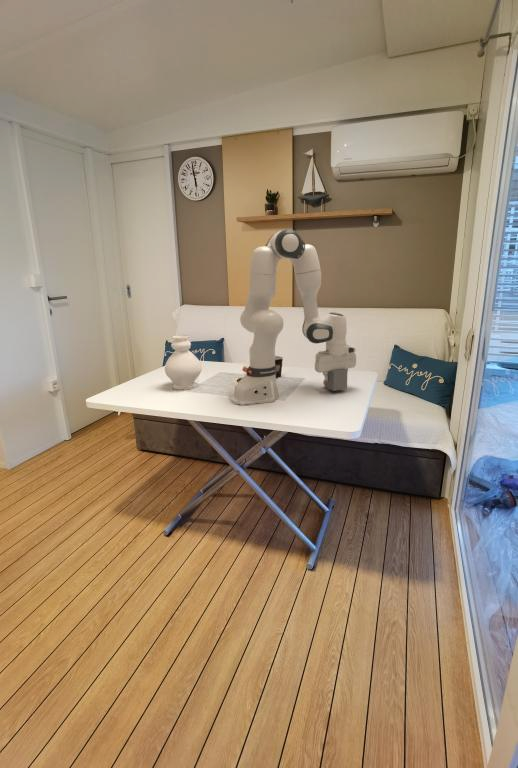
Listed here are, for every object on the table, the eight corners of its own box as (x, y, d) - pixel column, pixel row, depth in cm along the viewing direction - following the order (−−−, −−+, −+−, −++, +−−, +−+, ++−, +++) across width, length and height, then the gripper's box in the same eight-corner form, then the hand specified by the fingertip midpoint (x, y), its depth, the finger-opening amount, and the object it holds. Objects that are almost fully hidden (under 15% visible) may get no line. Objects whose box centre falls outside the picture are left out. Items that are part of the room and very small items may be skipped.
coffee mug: (283, 374, 219) (283, 355, 216) (282, 378, 210) (282, 359, 208) (261, 374, 220) (261, 356, 217) (260, 378, 212) (259, 359, 209)
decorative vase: (163, 392, 195) (158, 340, 188) (170, 381, 212) (165, 334, 205) (201, 390, 196) (196, 338, 188) (204, 380, 213) (200, 332, 206)
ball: (326, 378, 188) (321, 377, 193) (327, 389, 189) (321, 387, 194) (336, 377, 190) (330, 375, 195) (336, 387, 191) (330, 386, 196)
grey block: (333, 390, 182) (333, 371, 180) (324, 387, 188) (324, 368, 186) (347, 388, 185) (347, 369, 182) (337, 384, 191) (338, 366, 189)
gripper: (319, 353, 175) (319, 384, 179) (358, 348, 183) (357, 377, 187) (312, 350, 181) (311, 380, 185) (350, 345, 189) (349, 374, 193)
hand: (335, 379), depth 186 cm, fingers closed on grey block, 7 cm apart
